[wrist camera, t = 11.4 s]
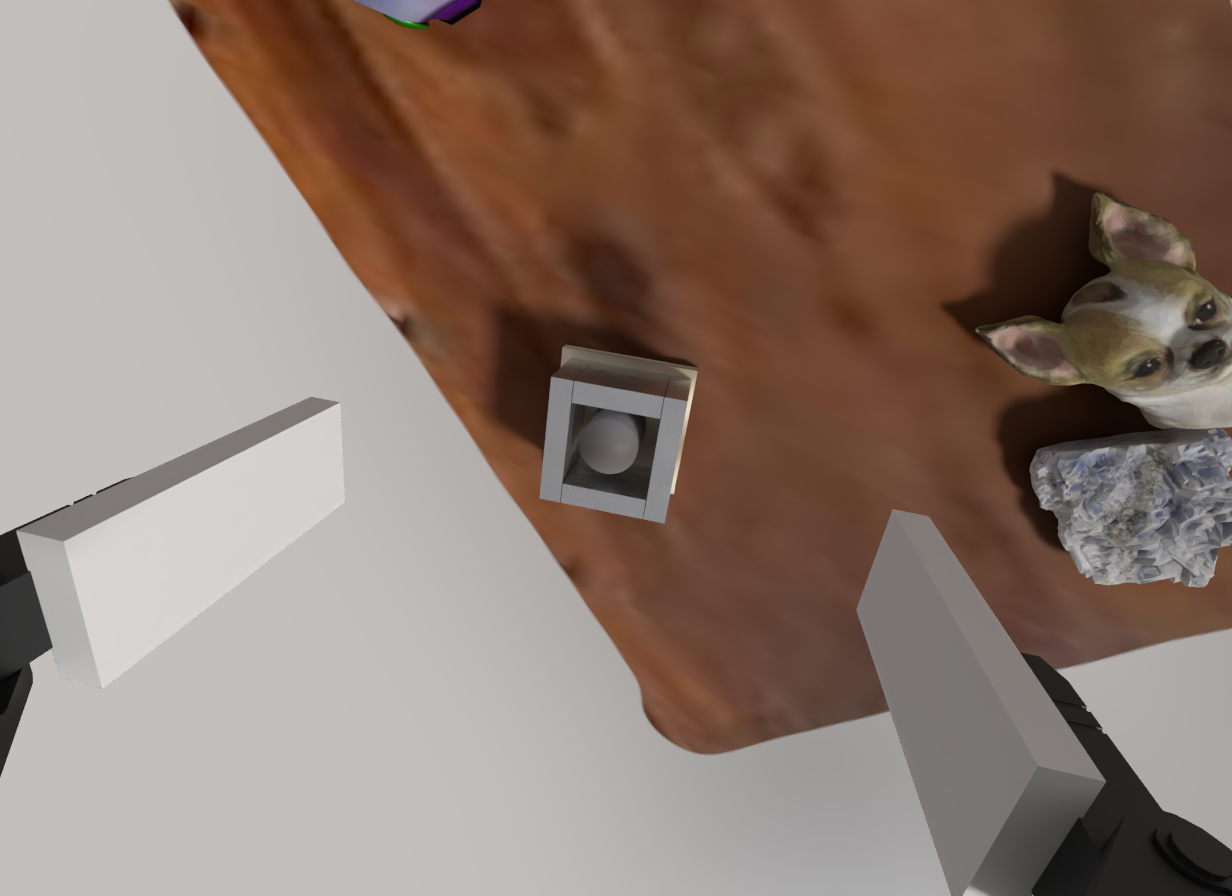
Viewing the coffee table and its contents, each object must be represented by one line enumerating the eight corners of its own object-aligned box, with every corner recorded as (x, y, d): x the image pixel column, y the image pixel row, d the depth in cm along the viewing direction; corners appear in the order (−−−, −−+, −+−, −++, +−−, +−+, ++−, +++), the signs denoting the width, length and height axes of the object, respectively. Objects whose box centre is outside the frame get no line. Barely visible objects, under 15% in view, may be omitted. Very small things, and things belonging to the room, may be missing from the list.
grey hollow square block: (570, 357, 44) (551, 376, 39) (692, 379, 43) (687, 401, 38) (559, 467, 47) (539, 498, 42) (670, 489, 46) (664, 523, 41)
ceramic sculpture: (1231, 505, 33) (1002, 355, 33) (1136, 452, 41) (953, 332, 41) (1432, 342, 29) (1171, 170, 28) (1283, 319, 37) (1079, 184, 36)
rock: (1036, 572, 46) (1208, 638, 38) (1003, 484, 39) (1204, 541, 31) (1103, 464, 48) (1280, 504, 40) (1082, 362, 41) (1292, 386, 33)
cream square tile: (565, 344, 45) (543, 363, 39) (698, 367, 44) (694, 390, 38) (553, 464, 48) (531, 497, 43) (674, 488, 47) (668, 525, 42)
